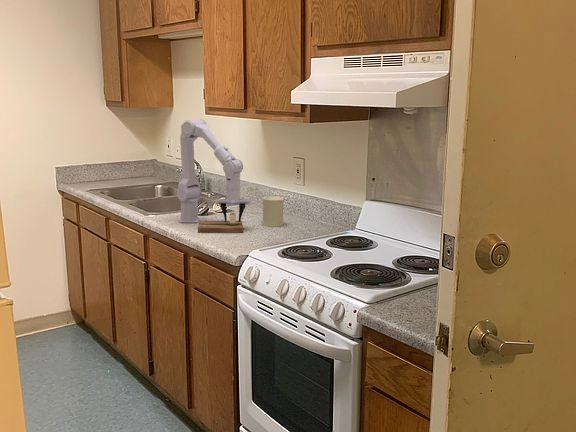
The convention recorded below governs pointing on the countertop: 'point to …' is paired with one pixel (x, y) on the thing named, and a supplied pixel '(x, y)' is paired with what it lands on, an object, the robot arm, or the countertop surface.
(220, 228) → the board
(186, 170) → the robot arm
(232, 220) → the fader
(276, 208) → the can
